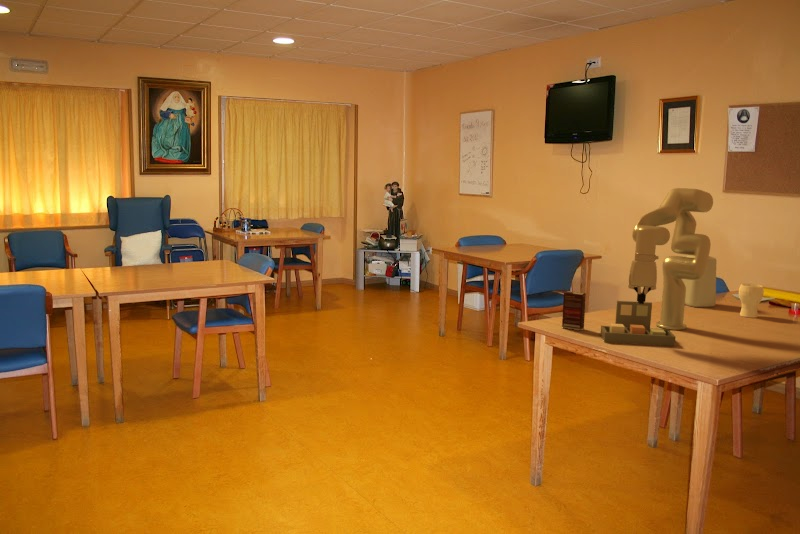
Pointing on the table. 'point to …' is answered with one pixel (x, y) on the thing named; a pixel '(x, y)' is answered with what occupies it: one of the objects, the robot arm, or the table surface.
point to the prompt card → (633, 313)
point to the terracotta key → (637, 329)
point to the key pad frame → (638, 337)
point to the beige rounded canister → (702, 287)
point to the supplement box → (573, 310)
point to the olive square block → (657, 332)
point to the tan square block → (617, 328)
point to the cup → (750, 299)
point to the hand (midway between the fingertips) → (640, 303)
